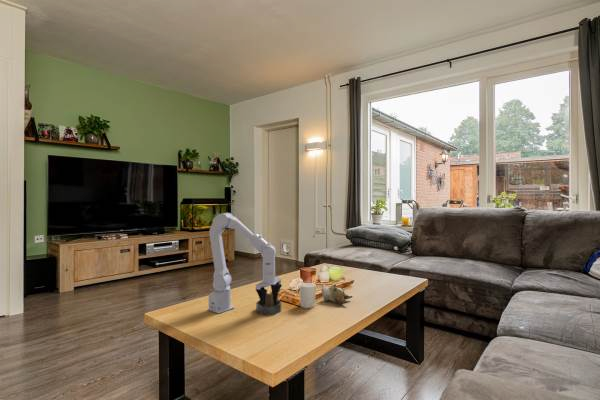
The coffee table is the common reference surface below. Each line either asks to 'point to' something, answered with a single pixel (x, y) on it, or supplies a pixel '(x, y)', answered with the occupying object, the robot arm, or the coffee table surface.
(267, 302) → the wood wick
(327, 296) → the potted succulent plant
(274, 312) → the candle tin
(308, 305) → the white cup
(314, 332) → the coffee table surface
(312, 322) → the coffee table surface
